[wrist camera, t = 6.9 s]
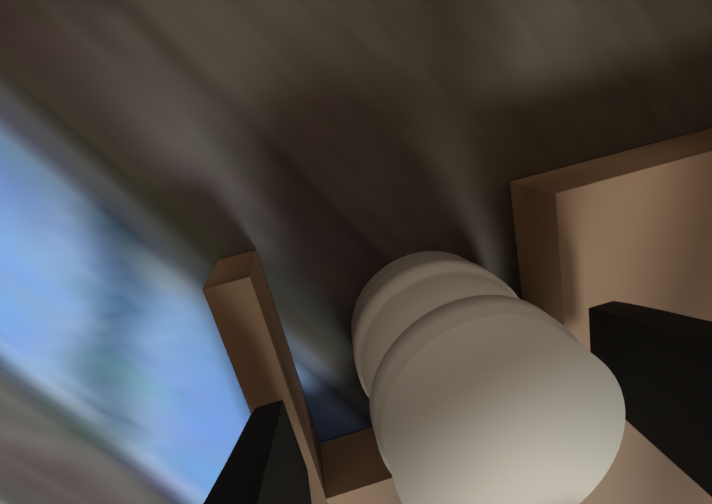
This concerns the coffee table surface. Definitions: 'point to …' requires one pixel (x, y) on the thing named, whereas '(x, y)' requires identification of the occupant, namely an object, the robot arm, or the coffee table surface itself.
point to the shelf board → (538, 286)
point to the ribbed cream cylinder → (480, 389)
